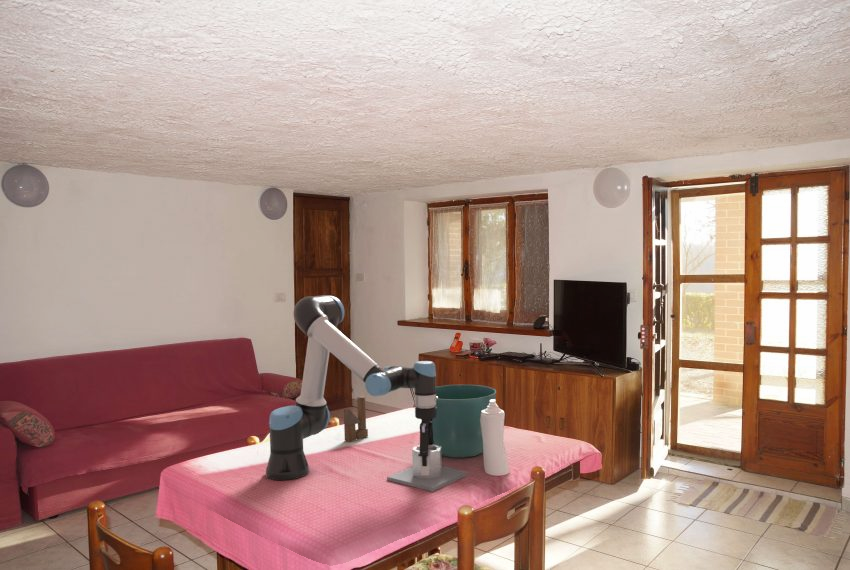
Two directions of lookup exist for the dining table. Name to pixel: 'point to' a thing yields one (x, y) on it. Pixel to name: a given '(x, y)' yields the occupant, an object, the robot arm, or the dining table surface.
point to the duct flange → (427, 484)
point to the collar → (434, 462)
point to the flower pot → (460, 419)
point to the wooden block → (355, 422)
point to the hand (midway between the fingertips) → (427, 470)
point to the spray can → (494, 440)
